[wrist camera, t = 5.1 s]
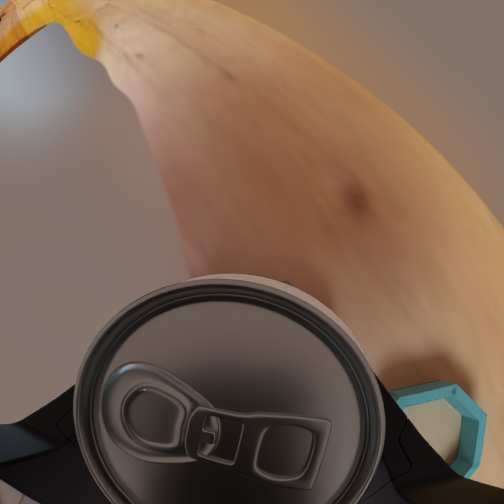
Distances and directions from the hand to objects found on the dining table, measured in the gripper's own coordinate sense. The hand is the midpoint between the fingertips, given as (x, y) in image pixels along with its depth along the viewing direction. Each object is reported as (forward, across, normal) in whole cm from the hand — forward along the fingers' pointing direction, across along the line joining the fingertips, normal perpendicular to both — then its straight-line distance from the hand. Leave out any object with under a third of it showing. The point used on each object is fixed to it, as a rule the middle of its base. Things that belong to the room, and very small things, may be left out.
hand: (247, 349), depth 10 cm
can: (+4, 0, +6) cm, 7 cm away
